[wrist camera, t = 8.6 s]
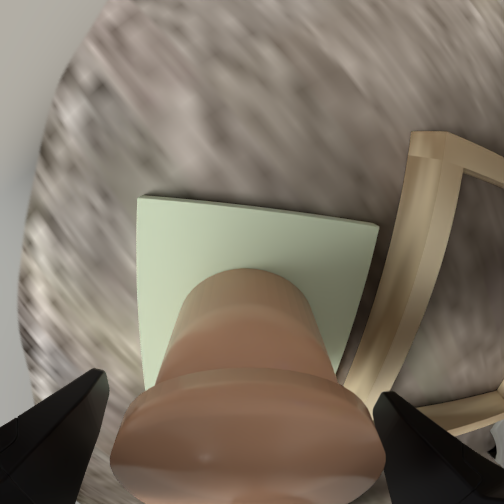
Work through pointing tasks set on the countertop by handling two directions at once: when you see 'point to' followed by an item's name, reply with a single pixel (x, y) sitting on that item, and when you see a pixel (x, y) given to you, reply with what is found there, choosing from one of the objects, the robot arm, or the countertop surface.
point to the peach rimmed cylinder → (247, 406)
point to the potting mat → (245, 263)
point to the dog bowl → (498, 442)
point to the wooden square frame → (422, 274)
